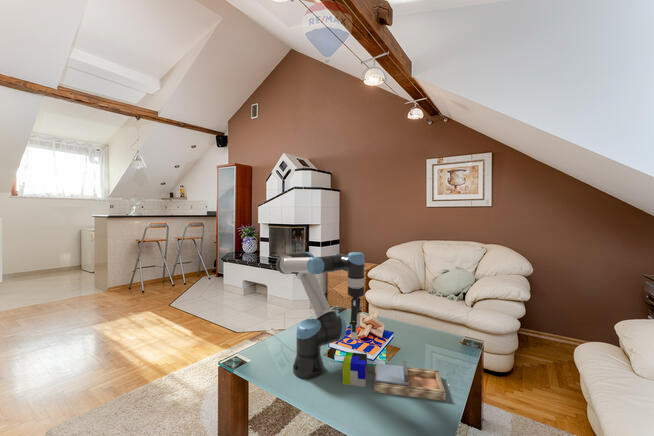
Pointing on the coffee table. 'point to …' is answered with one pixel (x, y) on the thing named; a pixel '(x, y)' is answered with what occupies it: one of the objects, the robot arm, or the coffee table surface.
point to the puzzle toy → (355, 369)
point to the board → (416, 385)
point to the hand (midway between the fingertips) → (355, 332)
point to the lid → (392, 374)
